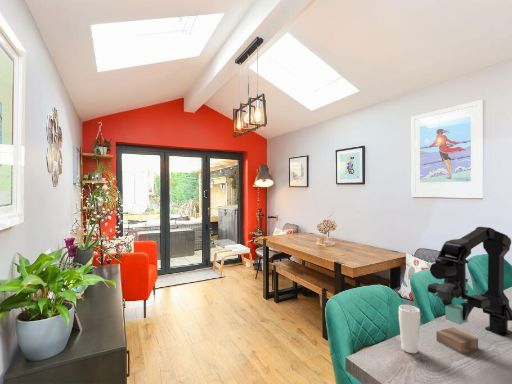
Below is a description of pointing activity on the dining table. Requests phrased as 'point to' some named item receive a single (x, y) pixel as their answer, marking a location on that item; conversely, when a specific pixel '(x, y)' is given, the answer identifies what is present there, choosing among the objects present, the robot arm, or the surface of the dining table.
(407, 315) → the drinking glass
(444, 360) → the dining table surface
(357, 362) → the dining table surface
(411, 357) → the dining table surface
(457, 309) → the teal cube
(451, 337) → the walnut block
